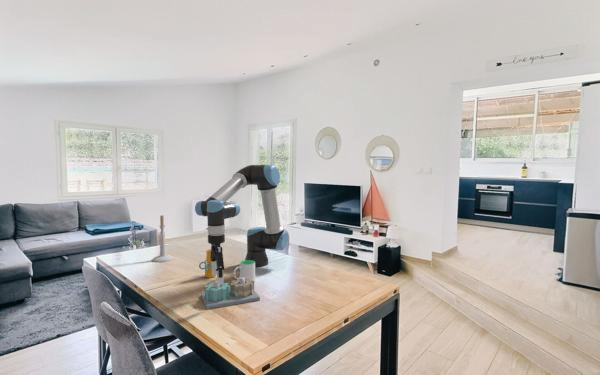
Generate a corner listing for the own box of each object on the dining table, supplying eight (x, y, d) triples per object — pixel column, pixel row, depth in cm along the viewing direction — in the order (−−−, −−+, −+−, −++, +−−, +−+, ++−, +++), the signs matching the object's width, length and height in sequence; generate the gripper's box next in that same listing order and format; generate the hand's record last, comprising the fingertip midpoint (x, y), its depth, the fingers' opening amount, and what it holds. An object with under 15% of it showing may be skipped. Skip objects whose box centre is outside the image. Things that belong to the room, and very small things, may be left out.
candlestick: (177, 258, 223) (176, 214, 222) (160, 263, 213) (159, 216, 211) (165, 256, 230) (164, 213, 228) (148, 260, 219) (147, 215, 218)
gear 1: (226, 290, 161) (226, 280, 161) (232, 298, 151) (232, 288, 151) (203, 294, 157) (203, 284, 156) (207, 303, 147) (207, 291, 146)
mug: (237, 286, 171) (237, 266, 171) (230, 282, 178) (230, 263, 177) (258, 281, 179) (257, 262, 178) (250, 277, 185) (250, 259, 184)
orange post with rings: (214, 280, 180) (213, 253, 180) (196, 279, 182) (196, 252, 182) (223, 273, 192) (223, 248, 191) (207, 272, 194) (206, 247, 194)
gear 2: (244, 286, 167) (244, 277, 166) (258, 292, 159) (258, 282, 159) (226, 292, 159) (226, 282, 158) (240, 299, 151) (240, 288, 151)
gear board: (249, 288, 169) (249, 271, 169) (259, 300, 154) (259, 282, 153) (201, 295, 159) (200, 278, 159) (206, 309, 144) (206, 290, 143)
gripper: (203, 229, 162) (204, 272, 164) (212, 240, 139) (214, 289, 141) (219, 228, 165) (220, 270, 167) (230, 238, 142) (231, 287, 144)
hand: (217, 279), depth 154 cm, fingers open, 13 cm apart
